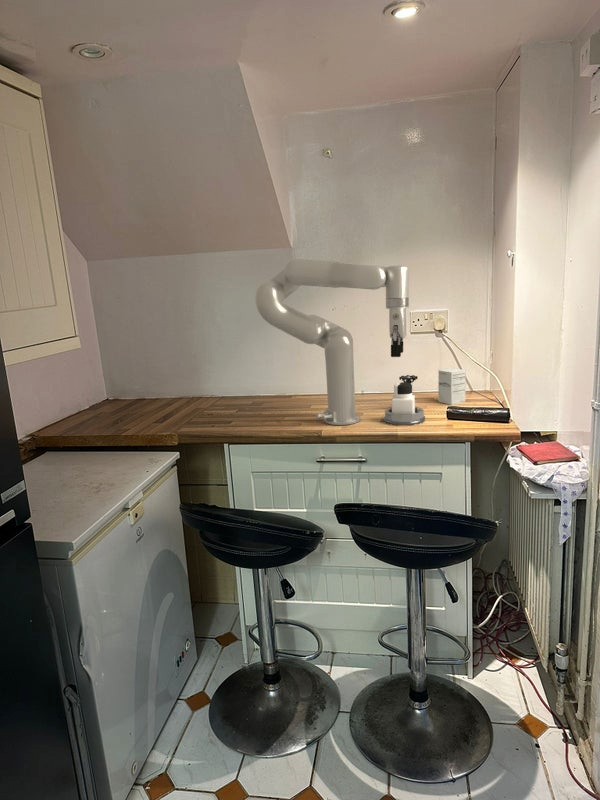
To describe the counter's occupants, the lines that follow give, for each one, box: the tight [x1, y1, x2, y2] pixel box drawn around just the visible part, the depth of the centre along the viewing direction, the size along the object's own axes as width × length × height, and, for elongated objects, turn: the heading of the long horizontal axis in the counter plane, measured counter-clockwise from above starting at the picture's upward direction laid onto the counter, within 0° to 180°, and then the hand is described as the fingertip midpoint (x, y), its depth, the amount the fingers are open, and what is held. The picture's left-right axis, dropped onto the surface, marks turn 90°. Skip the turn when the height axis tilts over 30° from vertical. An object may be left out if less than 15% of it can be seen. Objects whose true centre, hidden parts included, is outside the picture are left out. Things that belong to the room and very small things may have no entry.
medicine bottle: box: [391, 381, 416, 414], centre depth 196 cm, size 7×7×12 cm
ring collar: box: [383, 406, 426, 426], centre depth 197 cm, size 14×14×4 cm
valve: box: [399, 374, 418, 395], centre depth 213 cm, size 7×7×12 cm
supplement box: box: [437, 367, 467, 406], centre depth 218 cm, size 7×7×13 cm
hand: (397, 354), depth 195 cm, fingers open, 9 cm apart
